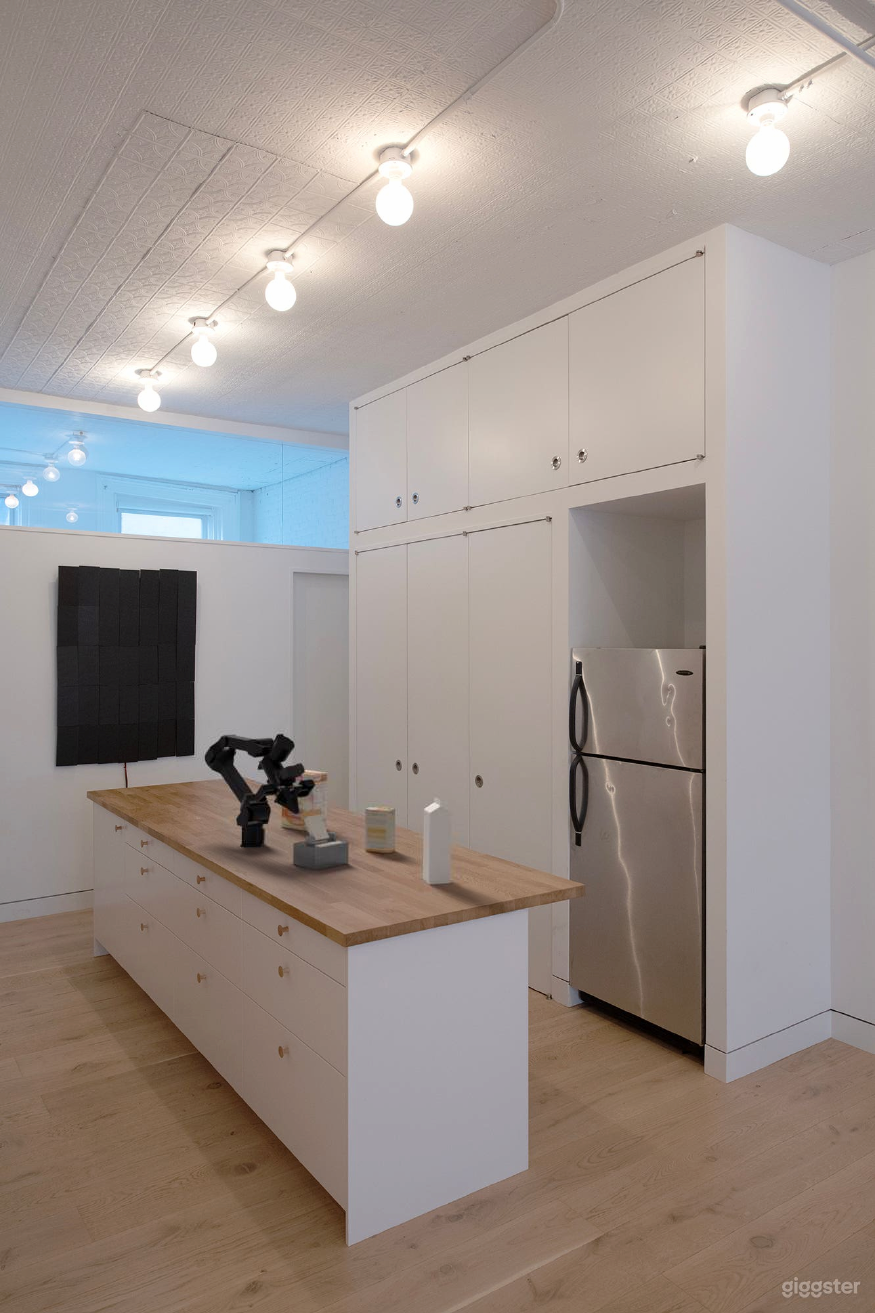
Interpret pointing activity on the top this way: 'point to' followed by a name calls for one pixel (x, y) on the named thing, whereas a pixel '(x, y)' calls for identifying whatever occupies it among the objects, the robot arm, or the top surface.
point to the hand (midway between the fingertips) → (297, 813)
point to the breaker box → (320, 852)
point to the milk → (437, 844)
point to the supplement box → (380, 829)
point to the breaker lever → (315, 824)
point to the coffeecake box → (308, 801)
